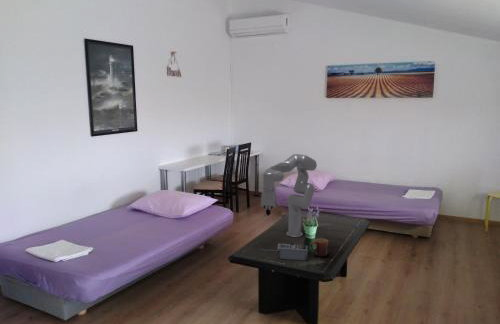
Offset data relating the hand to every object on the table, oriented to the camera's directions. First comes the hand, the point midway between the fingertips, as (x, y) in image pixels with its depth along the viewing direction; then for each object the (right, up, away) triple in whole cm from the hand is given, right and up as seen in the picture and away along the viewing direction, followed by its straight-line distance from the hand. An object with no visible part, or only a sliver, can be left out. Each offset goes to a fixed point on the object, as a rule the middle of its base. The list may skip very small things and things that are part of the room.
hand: (268, 214), depth 279 cm
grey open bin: (+16, -26, -14) cm, 33 cm away
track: (+1, -24, -4) cm, 24 cm away
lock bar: (+13, -24, -6) cm, 28 cm away
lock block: (+16, -26, -13) cm, 33 cm away
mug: (+34, -26, -12) cm, 44 cm away
